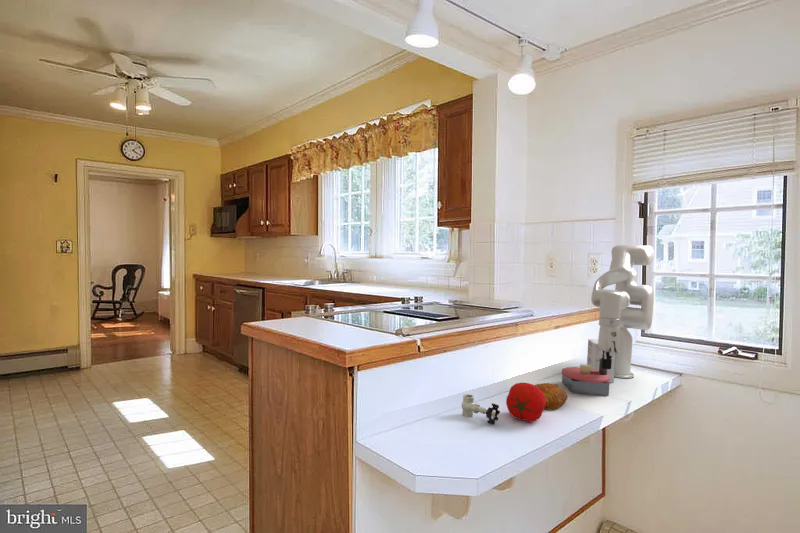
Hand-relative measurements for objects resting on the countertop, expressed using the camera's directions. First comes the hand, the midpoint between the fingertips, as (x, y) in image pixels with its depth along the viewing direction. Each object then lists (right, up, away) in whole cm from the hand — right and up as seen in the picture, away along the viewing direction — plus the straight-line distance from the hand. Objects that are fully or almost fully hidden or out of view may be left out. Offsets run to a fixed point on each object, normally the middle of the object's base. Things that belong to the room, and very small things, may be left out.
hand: (606, 368), depth 178 cm
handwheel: (-7, -4, +4) cm, 9 cm away
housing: (-7, -9, +4) cm, 12 cm away
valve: (-57, -9, -33) cm, 66 cm away
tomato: (-41, -10, -31) cm, 52 cm away
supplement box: (+6, -10, +20) cm, 23 cm away
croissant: (-29, -10, -14) cm, 33 cm away
